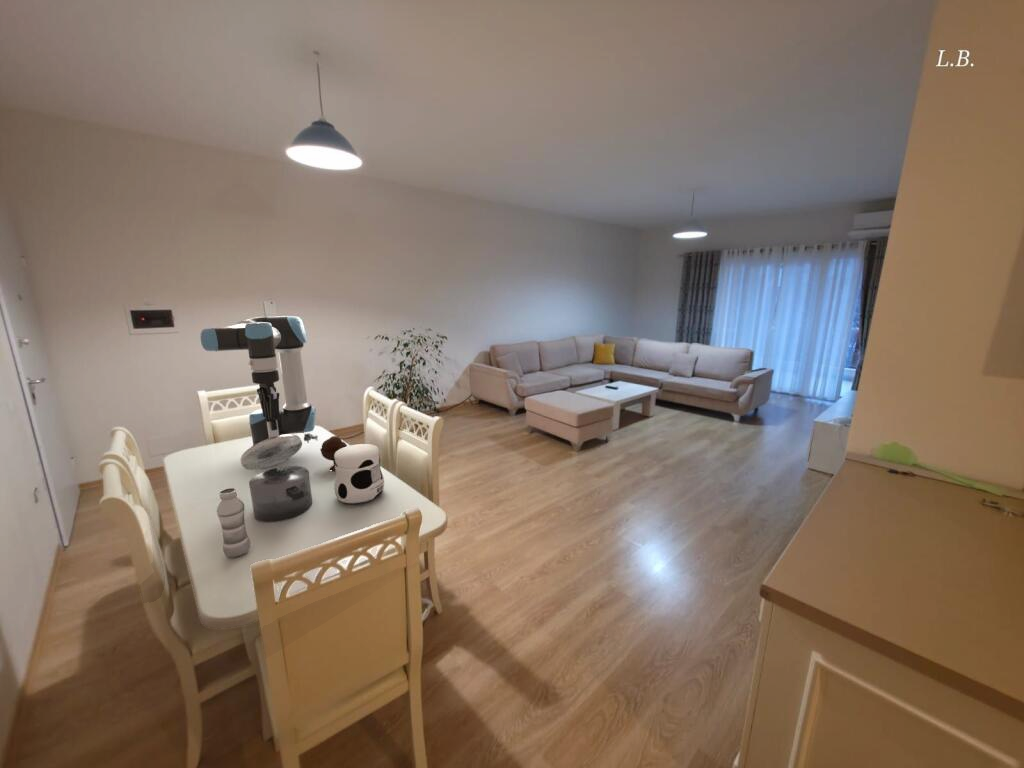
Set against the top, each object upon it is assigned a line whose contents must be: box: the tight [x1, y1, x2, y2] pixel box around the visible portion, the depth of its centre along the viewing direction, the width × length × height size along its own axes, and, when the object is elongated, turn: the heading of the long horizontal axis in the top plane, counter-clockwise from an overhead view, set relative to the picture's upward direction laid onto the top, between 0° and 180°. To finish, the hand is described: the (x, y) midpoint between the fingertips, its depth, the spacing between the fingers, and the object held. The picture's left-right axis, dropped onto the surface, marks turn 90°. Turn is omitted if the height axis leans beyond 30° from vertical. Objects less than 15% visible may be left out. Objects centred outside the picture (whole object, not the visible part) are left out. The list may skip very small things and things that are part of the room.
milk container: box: [333, 443, 385, 505], centre depth 149 cm, size 17×17×18 cm
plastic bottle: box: [216, 487, 251, 558], centre depth 115 cm, size 6×7×20 cm
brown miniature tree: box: [319, 435, 348, 472], centre depth 173 cm, size 11×11×15 cm
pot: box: [248, 465, 313, 523], centre depth 139 cm, size 24×18×12 cm
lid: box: [240, 434, 303, 471], centre depth 141 cm, size 20×19×4 cm
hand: (274, 438), depth 136 cm, fingers closed
